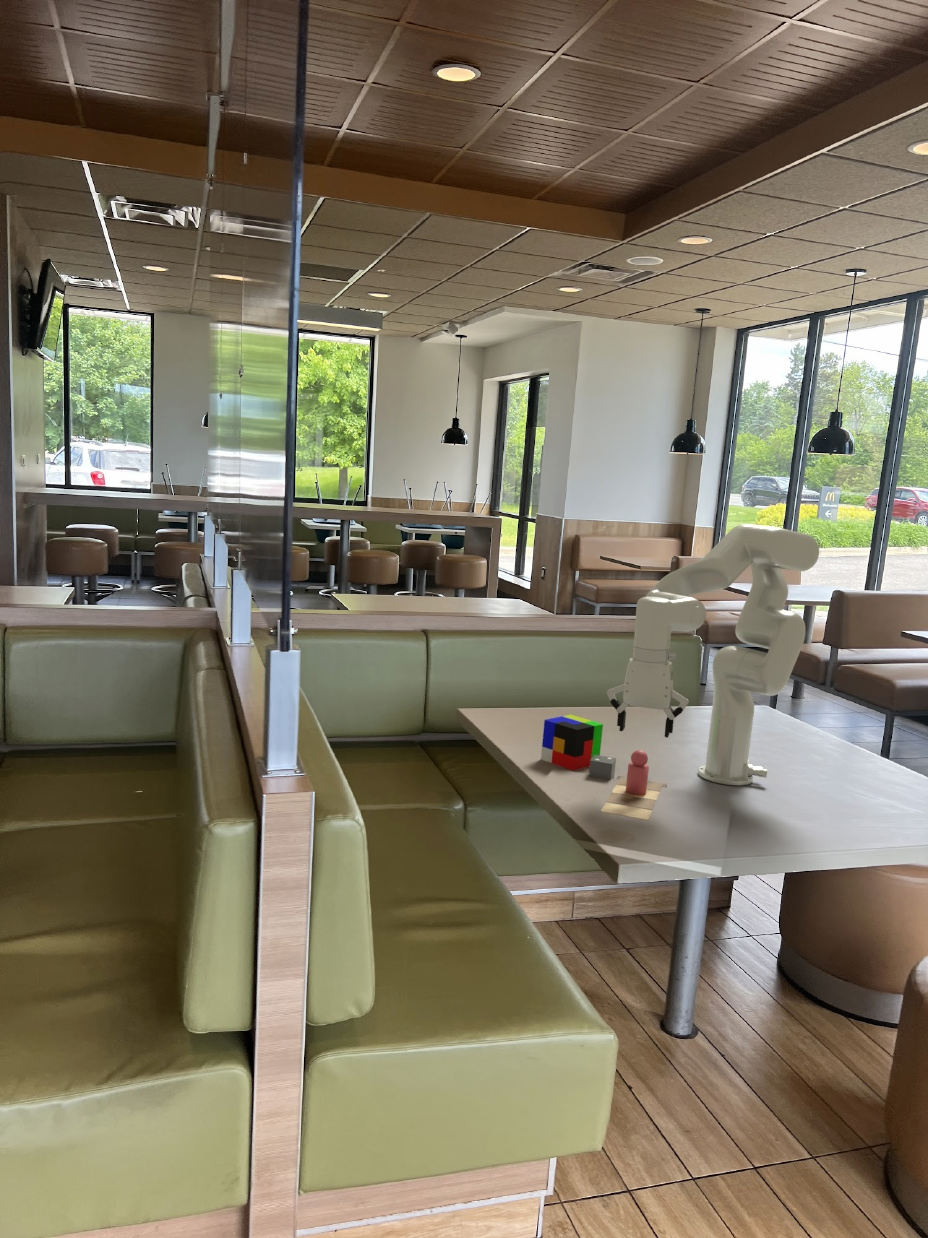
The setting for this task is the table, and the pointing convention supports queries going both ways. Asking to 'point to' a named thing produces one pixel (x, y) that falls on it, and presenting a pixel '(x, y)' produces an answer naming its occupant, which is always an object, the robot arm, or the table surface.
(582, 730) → the puzzle toy
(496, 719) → the table surface
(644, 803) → the board
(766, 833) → the table surface
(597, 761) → the die
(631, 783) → the pawn
